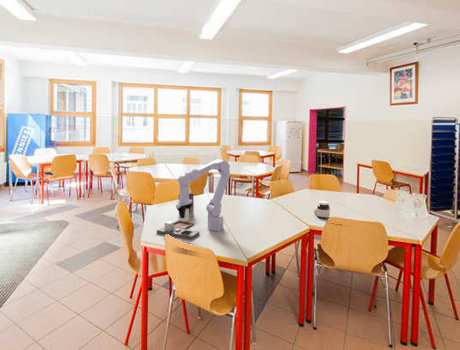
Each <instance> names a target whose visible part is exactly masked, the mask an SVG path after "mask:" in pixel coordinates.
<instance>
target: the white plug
mask: <svg viewBox="0 0 460 350" xmlns="http://www.w3.org/2000/svg"><path fill="white" fill-rule="evenodd" d="M179 220H180V221H185V222H189V220H190V216H189V209H188V208H186V210H185V217H184V218H181V217H180V216H179Z"/></svg>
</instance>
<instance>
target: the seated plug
mask: <svg viewBox="0 0 460 350" xmlns="http://www.w3.org/2000/svg"><path fill="white" fill-rule="evenodd" d="M174 222H175V221H171V220H168V221H165V222H164V226H165V231H173V230H174Z"/></svg>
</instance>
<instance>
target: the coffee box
mask: <svg viewBox="0 0 460 350" xmlns="http://www.w3.org/2000/svg"><path fill="white" fill-rule="evenodd" d="M189 200H192V203H190V204H192V206H191V208H190V211H189V217H192V216H194V215H195V211H194V209H195V207H194V205H195V204H194V193H192V192H189ZM179 201H180V200H179V199H178V202H179ZM178 216H179V217H180V214H179V213H178Z"/></svg>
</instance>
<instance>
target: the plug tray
mask: <svg viewBox="0 0 460 350" xmlns="http://www.w3.org/2000/svg"><path fill="white" fill-rule="evenodd" d="M173 222H174V227H176V228H182V229H187V230H189V229H190V228H191V227H194V226H195V222H191V221H186V222H185V221H180V219H178V220H177V221H173Z"/></svg>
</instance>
